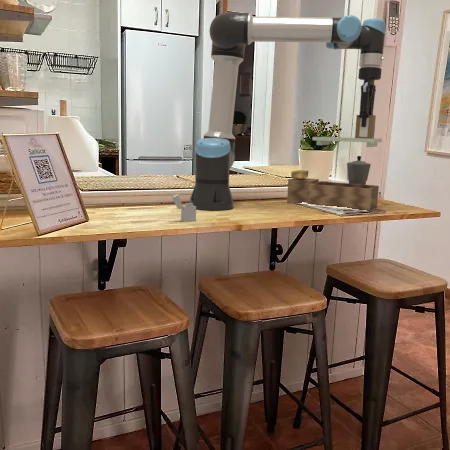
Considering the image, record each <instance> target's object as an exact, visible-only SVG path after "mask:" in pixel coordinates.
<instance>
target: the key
mask: <svg viewBox="0 0 450 450" xmlns="http://www.w3.org/2000/svg"><path fill="white" fill-rule="evenodd" d="M290 175H291V178H290V179H292V178H298V179H303V178H309V170H305V169H302V170H301V169H298V170H297V169H296V170H291V174H290Z"/></svg>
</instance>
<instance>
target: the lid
mask: <svg viewBox="0 0 450 450" xmlns="http://www.w3.org/2000/svg"><path fill="white" fill-rule="evenodd" d="M358 115H359V114H356V120H355V132H354V133H355V134H354V137H336V136H312V139H311V141H316V146H330V142H346V143H349V142H352V143H366V148H375V147H378V143H382V142H383V139H382V138H375V129H376V119H377V115H375V114H373V115H369V116H368V118H369V124H368V135H367V137H359V132H360V120H361V118H362V117H358Z"/></svg>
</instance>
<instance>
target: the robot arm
mask: <svg viewBox="0 0 450 450" xmlns="http://www.w3.org/2000/svg"><path fill="white" fill-rule="evenodd" d="M208 30H209V31H208V32H209V37H210V39H211V52H210V53H211V54H210V58H211V59H212V61H213V62H214V65H213V66H214V67H213V78H212V90H211V96H210V97H211V98H210V99H211V100H210V107H209V109H210V110H209V120H208V121H209V122H208V130H207V131H206V132H205V133H204V134H203V138H200V139H198V140H197V141H196V143H195V149H194V150H195V170H194V171H195V178H194V179H195V180H194V183H195V184H194V186H193V191H192V193H191V196H190V200H189V203H193V206H196V210H202V211H203V210H204V211H205V210H206V211H226V210H231V209H234V199H233V195H232V191H231V187H230V169H231V168H232V166H233V164H234V163H235V159H236V154H235V146H236V137H235V136H234V134H233V125H234V124H233V123H234V116H235V106H236V105H235V104H236V96H237V95H236V94H237V87H238V86H237V85H238V76H239V66H240V65H241V63H242V62H244V59H245V50H246V49H245V48H246V46H248V45H251V44H252V43H253V42H255V43H256V42H261V43H262V42H268V43H325V47H326V49H330V50H331V49H333V50H360V52H359V53H360V55H359V64H358V65H359V66H358V67H360V68H359V69H358V77H357V78H358V80H360V81H363V84H362V85H361V86H360V100H359V101H360V103H359V114H357V115H358V117H362V118H361V120H360V132H359V137H367V135H368V124H369V118H368V116H369V115H374V105H375V97H376V89H377V88H376V87H377V86H376V85H375V81H379V80H381V78H382V70H383V69H382V68H381V67H382V66H383V61H384V60H385V57H384V56H383V55H384V46H385V36H386V22H385V20H383V19H382V18H368V19H365V20H363V22H361V20H360V19H359V18H358V17H357V16H355V15H353V14H348V15H346V16H342V17H323V16H322V17H319V16H317V17H315V16H313V17H311V16H309V17H308V16H253V14H252V13H251V12H235V11H234V12H233V11H231V12H230V11H228V12H226V11H225V12H221V13H219V14H217V15H216V16H215V17H214V18H213V19H212V21H211V23H210V25H209V29H208Z"/></svg>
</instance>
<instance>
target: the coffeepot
mask: <svg viewBox="0 0 450 450" xmlns="http://www.w3.org/2000/svg"><path fill="white" fill-rule="evenodd" d="M361 159H362V156H360V155H357V159H356V160H353V161H350V162H346V168H347V169H346V171H347V180H348V183H349V184H363V185H367V181H368V178H369V175H370V169H371V163H368V162H366V161H365V160H364V161H362V160H361Z"/></svg>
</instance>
